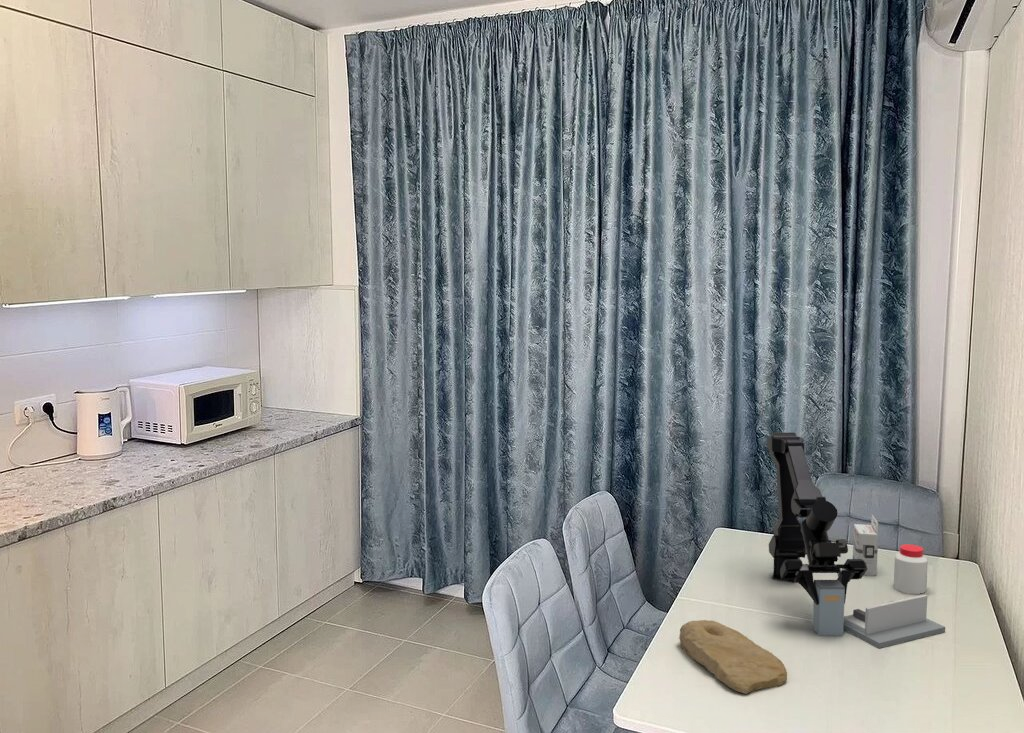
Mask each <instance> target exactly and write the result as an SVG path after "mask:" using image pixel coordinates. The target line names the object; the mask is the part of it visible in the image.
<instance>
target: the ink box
mask: <svg viewBox="0 0 1024 733" xmlns="http://www.w3.org/2000/svg"><path fill="white" fill-rule="evenodd" d="M870 521H871V524H857V523H854V524H853V539H852V540H853V543H852V544H853V545H852V559H862V560H863V561H864V562H865V563H866V565H867V571H866V572H865V574H864V575H863V576H874V575H876V576H877V574H878V573H877V572H878V571H877V570H878V554H879V553H878V548H879V522H878V520H877V519H876V517H875V515H873V514H871V520H870Z"/></svg>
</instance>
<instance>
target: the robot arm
mask: <svg viewBox="0 0 1024 733" xmlns="http://www.w3.org/2000/svg"><path fill="white" fill-rule="evenodd" d="M766 448H767V450H768V454H769V455H768V456H769V457H770V459H771V460H772V462H773V463H774V465H775V466H776V467H775V470H776V472H775V473H776V484H777V486H776V487H777V503H778V520H777V522H776V524H775V526H774V528H773V535H772V537H771V539H770V541H769V543H768V552H769V554H770V555H771V557H772V558H773V574H772V576H771V579H773V580H776V581H777V580H778V581H784V582H790V583H791V582H792V583H799V585H800V586H801V587H802V588H803V589H804V590H805V591H806V592H807V594H808V596H809V597H810V598H811V600H812V601H814V602H815V604H816V605H818V604H819V599H818V595H817V591H816V588H815V584H814V574H837V578H836V580H839V581H840V582H841V584H842V585H843V586H844V587H845V598H844V605H845V604H846V599H847V590H848V584H849V582H851V580H860V579H862V578H863V576H865V575H864V574H865V572H866V571H867V565H866V563H865V562H864V561H863V560H862V559H853V558H847V559H846V560H845V563H844V564H843V563H842V564H840V563H839V564H836V562H838V560H839V558H841V556H842V555H841V554H843V555H844V554H848V552H849V548H848V543H847V540H846V538H845V539H844V538H840V539H839V538H838V539H836V540H835V542H832V540H830V538H829V535H828V531H829V530H830V529H831V527H832V526H833V524H834V522H835V520H836V518H837V517H838V509H837V507H836V505H834V504H833V503H831V502H830V501H828V500H827V498H826V496H823V494H822V492H821V489H820V488H818V486H816V485H815V484H814V482H813V480H812V476H811V472H810V469H809V465H808V462H807V458H806V455H805V443H804V438H803V437H802V436H797V434H796V433H795V432H771V433H770V435H769V436H767V437H766ZM798 518H800V519H802V518H805V519H804V520H803V521H802V522H800V521H799V520H798ZM801 558H804V559H805V558H807V563H803V560H802V559H801Z"/></svg>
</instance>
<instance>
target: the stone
mask: <svg viewBox="0 0 1024 733" xmlns="http://www.w3.org/2000/svg"><path fill="white" fill-rule="evenodd" d="M679 642H680V647H681V649H682V648H683V649H682V650H683V651H684V652H685V653H686V655H687V656H689V657H690V658H691V659H693V660H694V661H695V662H697V663H698V664H700V665H701V666H704V667H705V669H707V671H709V673H711V674H713V675H714V677H715V678H716V679H717V680H719V681H720V682H721V683H723V684H725V685H726V686H727V687H728V688H730V689H732V690H734V691H735V692H738V693H741V694H744V695H746V694H749V693H750V692H753V691H758V690H761V689H762V690H763V689H767V688H773V687H774V688H775V687H780V686H783V684H785V682H786V681H787V680H788V671H787V668H786V667H785V665H784V663H783V661H782V660H781V659H779V658H778V656H776V655H774V653H773V652H770V651H769V650H767V649H765V648H763V647H761V646H760V645H759V644H756V643H755V642H754V641H753V640H752V639H750V638H748V637H747V636H746V635H744V633H741V632H740V631H738V630H736V629H733V628H731V627H729V626H727V625H724V624H722V623H720V622H719V621H717V620H716V621H715V620H707V619H699V620H691V621H687V622H686V623H684V624H683V625H681V627H680V628H679Z"/></svg>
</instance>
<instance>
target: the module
mask: <svg viewBox="0 0 1024 733" xmlns="http://www.w3.org/2000/svg"><path fill="white" fill-rule="evenodd" d="M813 581H814V584H815V588H816V591H817V595H818V599H819V604H818V605H816V604H815V602H814V601H813V600H812V601H813V603H812V604H813V605H812V607H813V608H812V628H813V630H814V631H815V632H816V633H817V635H818V636H844V629H843V627H844V616H845V604H844V598H845V587H844V586H843V585H842V584H841V582H840V581H839V580H837V579H813Z"/></svg>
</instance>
